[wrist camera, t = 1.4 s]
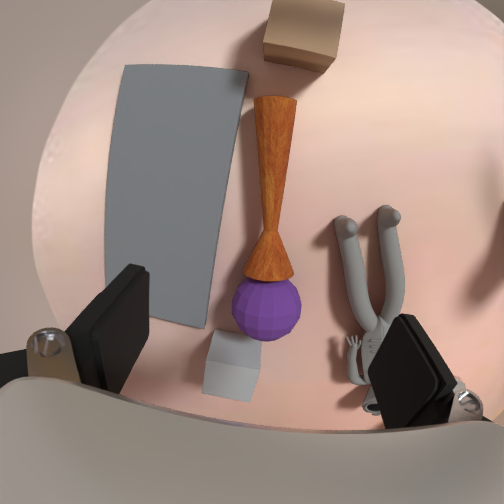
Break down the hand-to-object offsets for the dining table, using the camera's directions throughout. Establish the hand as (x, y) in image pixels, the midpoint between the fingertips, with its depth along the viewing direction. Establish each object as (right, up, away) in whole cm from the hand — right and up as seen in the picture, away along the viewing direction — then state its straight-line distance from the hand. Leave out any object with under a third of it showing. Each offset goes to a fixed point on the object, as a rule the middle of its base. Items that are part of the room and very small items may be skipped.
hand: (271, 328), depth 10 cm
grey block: (-3, -8, +20) cm, 22 cm away
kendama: (+1, +6, +15) cm, 16 cm away
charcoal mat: (-9, +7, +15) cm, 18 cm away
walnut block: (+3, +20, +9) cm, 22 cm away
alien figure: (+12, -5, +19) cm, 23 cm away
